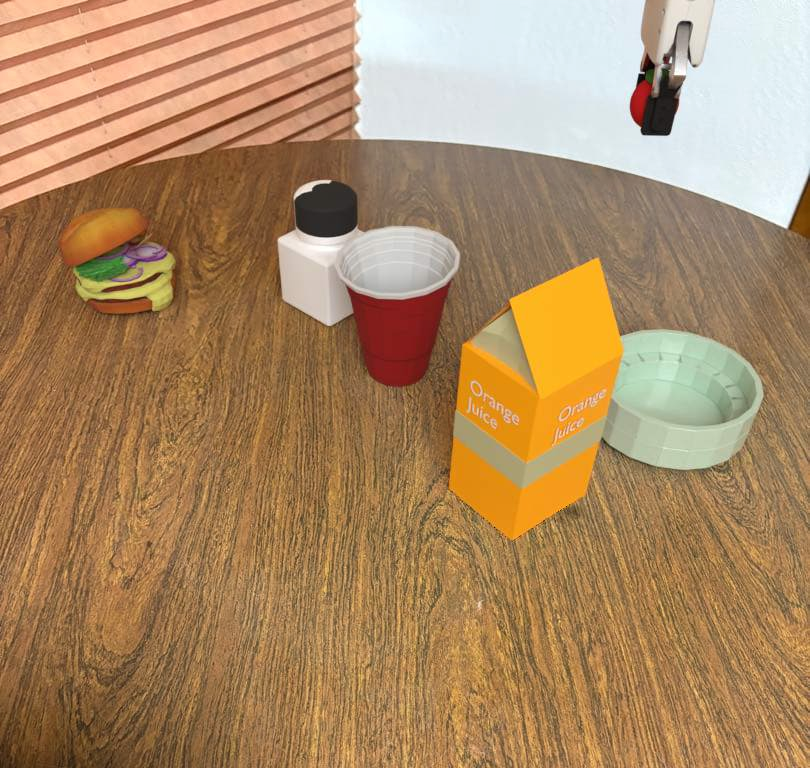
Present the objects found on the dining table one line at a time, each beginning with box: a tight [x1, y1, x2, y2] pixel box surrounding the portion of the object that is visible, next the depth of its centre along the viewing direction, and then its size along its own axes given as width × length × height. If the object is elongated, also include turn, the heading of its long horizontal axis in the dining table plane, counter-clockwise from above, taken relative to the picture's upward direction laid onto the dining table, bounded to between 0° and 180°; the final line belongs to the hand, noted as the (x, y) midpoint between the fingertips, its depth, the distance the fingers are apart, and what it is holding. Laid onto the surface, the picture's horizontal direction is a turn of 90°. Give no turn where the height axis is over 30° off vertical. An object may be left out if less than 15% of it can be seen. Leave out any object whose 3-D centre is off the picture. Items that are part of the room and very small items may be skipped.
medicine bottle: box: [277, 179, 366, 327], centre depth 85 cm, size 7×7×12 cm
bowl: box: [601, 328, 765, 471], centre depth 76 cm, size 14×14×5 cm
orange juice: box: [448, 256, 624, 544], centre depth 64 cm, size 8×9×20 cm
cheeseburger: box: [58, 207, 177, 315], centre depth 87 cm, size 10×11×10 cm
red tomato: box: [629, 69, 680, 128], centre depth 93 cm, size 5×5×6 cm
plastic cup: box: [334, 225, 461, 388], centre depth 78 cm, size 11×11×12 cm
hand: (650, 121), depth 95 cm, fingers closed on red tomato, 5 cm apart
